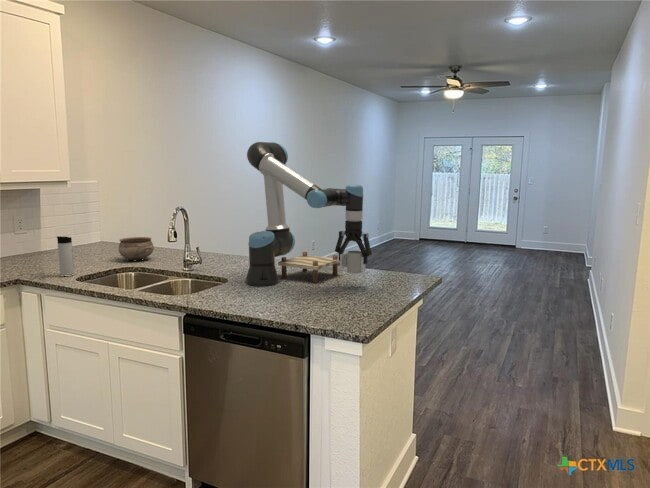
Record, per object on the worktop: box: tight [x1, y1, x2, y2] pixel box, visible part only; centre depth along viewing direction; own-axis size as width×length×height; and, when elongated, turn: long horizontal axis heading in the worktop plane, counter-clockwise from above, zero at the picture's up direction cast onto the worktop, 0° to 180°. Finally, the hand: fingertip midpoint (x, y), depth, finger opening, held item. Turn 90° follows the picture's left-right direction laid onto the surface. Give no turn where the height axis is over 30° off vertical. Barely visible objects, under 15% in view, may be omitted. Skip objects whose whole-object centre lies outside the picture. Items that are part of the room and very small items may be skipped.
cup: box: [343, 250, 363, 274], centre depth 223 cm, size 7×10×9 cm
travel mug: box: [56, 236, 75, 276], centre depth 246 cm, size 6×7×20 cm
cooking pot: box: [118, 236, 155, 261], centre depth 287 cm, size 25×19×12 cm
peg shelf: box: [277, 251, 340, 284], centre depth 244 cm, size 22×22×10 cm
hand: (352, 269), depth 223 cm, fingers closed on cup, 10 cm apart
